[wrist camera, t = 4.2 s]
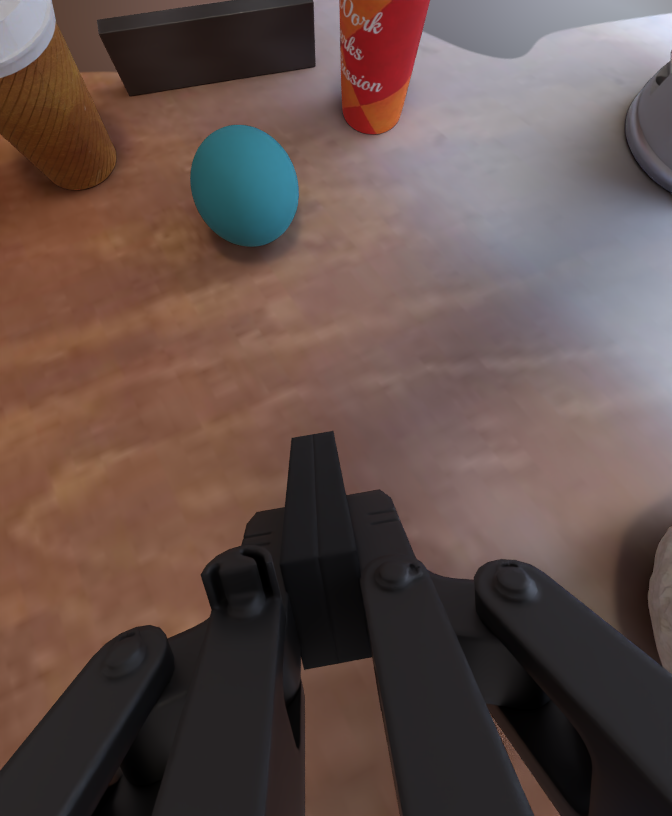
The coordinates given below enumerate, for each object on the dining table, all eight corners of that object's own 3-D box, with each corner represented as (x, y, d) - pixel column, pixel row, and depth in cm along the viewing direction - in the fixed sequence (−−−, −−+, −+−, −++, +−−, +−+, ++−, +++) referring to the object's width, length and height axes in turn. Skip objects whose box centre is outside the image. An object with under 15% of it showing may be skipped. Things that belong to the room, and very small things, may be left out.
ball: (291, 180, 34) (280, 86, 26) (310, 257, 32) (305, 181, 25) (202, 196, 34) (165, 105, 26) (217, 275, 32) (181, 203, 24)
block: (312, 54, 38) (309, -12, 33) (315, 66, 37) (313, 1, 32) (127, 83, 36) (96, 19, 31) (129, 96, 36) (98, 33, 31)
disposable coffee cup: (116, 214, 33) (1, 58, 21) (10, 196, 33) (-162, 33, 22) (148, 127, 35) (58, -57, 24) (47, 111, 35) (-91, -79, 24)
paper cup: (320, 89, 37) (316, -153, 23) (395, 72, 37) (434, -173, 24) (346, 153, 35) (358, -67, 21) (424, 134, 36) (483, -91, 22)
